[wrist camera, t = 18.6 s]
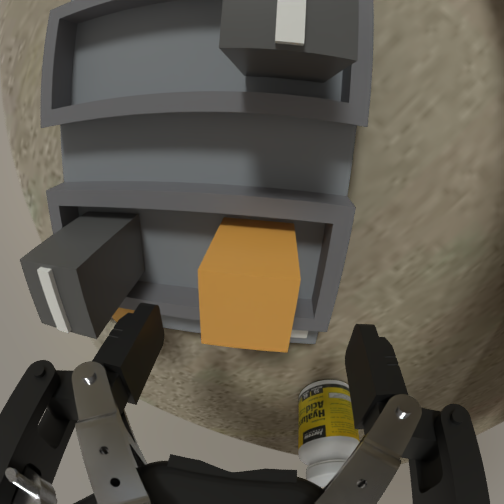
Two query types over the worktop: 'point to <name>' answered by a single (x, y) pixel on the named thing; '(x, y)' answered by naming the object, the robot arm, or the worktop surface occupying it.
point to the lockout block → (249, 285)
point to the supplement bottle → (325, 429)
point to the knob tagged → (85, 271)
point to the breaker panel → (199, 145)
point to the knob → (290, 37)
